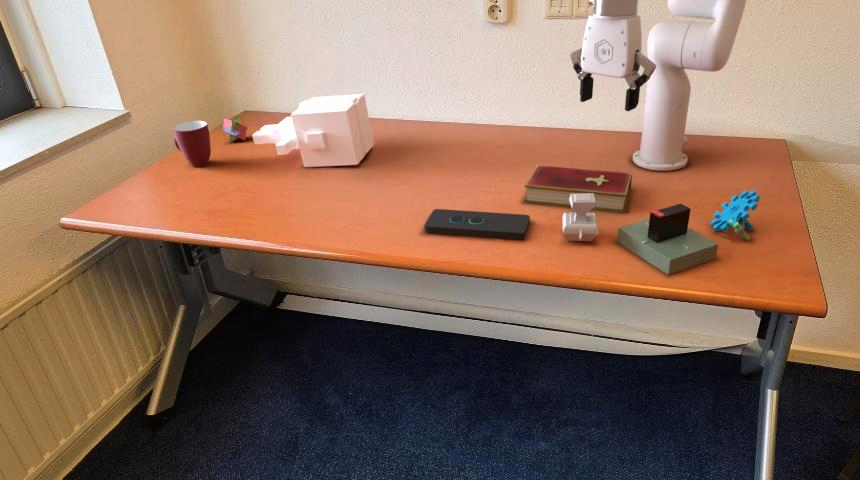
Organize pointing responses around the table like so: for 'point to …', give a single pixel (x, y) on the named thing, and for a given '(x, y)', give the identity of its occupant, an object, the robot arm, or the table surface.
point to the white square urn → (580, 218)
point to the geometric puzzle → (234, 129)
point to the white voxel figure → (323, 131)
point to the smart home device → (478, 224)
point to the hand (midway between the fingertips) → (607, 104)
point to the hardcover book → (578, 187)
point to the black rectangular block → (668, 223)
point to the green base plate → (667, 247)
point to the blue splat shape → (736, 213)
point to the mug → (193, 142)
